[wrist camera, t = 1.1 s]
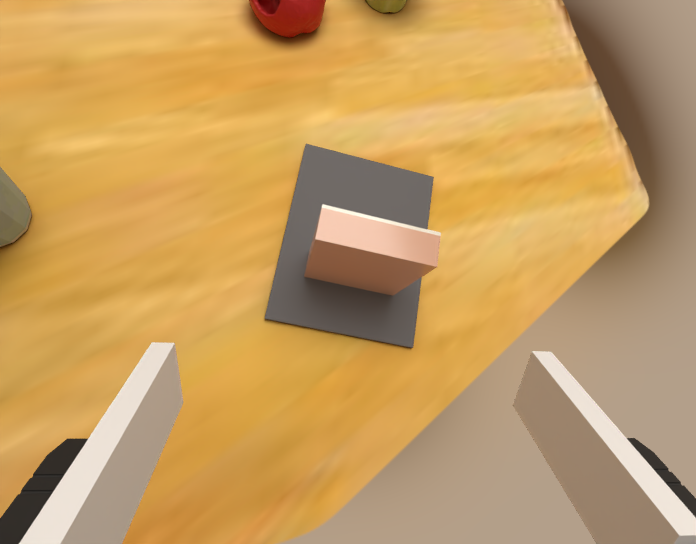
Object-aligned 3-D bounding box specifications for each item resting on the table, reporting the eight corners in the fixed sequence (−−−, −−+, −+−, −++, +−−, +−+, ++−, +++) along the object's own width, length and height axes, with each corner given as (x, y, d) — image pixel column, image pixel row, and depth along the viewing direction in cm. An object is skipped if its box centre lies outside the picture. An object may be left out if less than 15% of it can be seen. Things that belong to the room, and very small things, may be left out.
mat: (264, 319, 39) (264, 318, 39) (305, 146, 45) (305, 143, 45) (411, 347, 41) (413, 347, 41) (431, 179, 47) (433, 177, 47)
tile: (303, 276, 41) (315, 239, 29) (309, 250, 42) (322, 204, 30) (392, 295, 42) (437, 266, 31) (396, 270, 43) (440, 232, 31)
